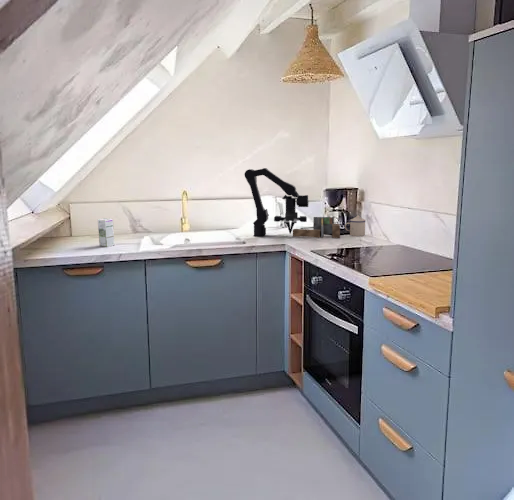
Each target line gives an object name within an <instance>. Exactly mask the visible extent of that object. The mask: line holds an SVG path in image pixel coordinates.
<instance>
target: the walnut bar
mask: <svg viewBox="0 0 514 500" xmlns="http://www.w3.org/2000/svg"><path fill="white" fill-rule="evenodd" d="M292 237H299V238H322V237H321V230H314V229H313V228H312V229H311V228H310V229H309V228H308V229H306V228H294V229H293V228H292Z"/></svg>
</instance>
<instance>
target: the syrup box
mask: <svg viewBox="0 0 514 500" xmlns="http://www.w3.org/2000/svg"><path fill="white" fill-rule="evenodd" d="M97 226H98V228H97V229H98V241H99V242H98V243H99V247H103V246H104V248H105V247H106V248H109V246H110V247H112V246H113V245H114V246H115V233H114V232H115V231H114V219H113V218H105V217H102V218H98V219H97ZM114 246H113V247H114Z"/></svg>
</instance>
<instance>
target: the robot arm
mask: <svg viewBox="0 0 514 500" xmlns="http://www.w3.org/2000/svg"><path fill="white" fill-rule="evenodd" d="M259 176H260V177H261V176H264V177H266V178H267V179H268V180H270V181H271V182H273V183H274V184H275V185H277V186H278V187H280V189H281V190H282V191H283V192H284V193H285V195H284V196H283V197H282V200H285V213H284V216H283V217H282V215H275V216H274V218H273V221H274V222H281V221H283V223H284V224H286V227H287V228H288V232H289V234H290V235H291V234H292V233H293V228H294V225H295V224H297V222H298V221H299V222H301V223H307V216H306V215H299V216H298V212H297V211H296V208H297V207H298V208H308V207H309V204H310V202H309V201H310V200H309V195H308V194H306V195H300V193H298V191H297V188H296V186H295V185H294V184H291V183H289V182H287V181H285V180H283V179H282V178H280V177H279V176H277V175H276V174H275V173H273V172H271V171H270V170H269V169H268V168H264V167H262V168H260V169H250V168H249V169H246V170H245V172H244V178H245V180H246V182H247V183H248V185H249V187H250V191H251V195H252V198H253V201H254V204H255V208H256V211H255V212H256V220H255V221H254V222H252V224H253V237H265V236H266V234H267V228H266V224H265V223H266V222H267V221H268V220H269V216H270V215H269V212H268V209H267V208H266V209H265V207H264V205H263V201H262V199H261V194H260V191H259V190H260V189H259V187H258V183H257V181H258V179H257V177H259ZM290 222H291V224H290Z"/></svg>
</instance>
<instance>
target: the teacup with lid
mask: <svg viewBox="0 0 514 500" xmlns="http://www.w3.org/2000/svg"><path fill="white" fill-rule="evenodd" d="M349 221H350V222H346V223H345V224H344V228H345V231H347V232H349V235H350V236H352V237H364V236H366V219H364V218H362V217H360V215H356V216H355V217H353V218H351V219H349ZM347 225H350V226H349V229H348V228H347Z"/></svg>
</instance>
